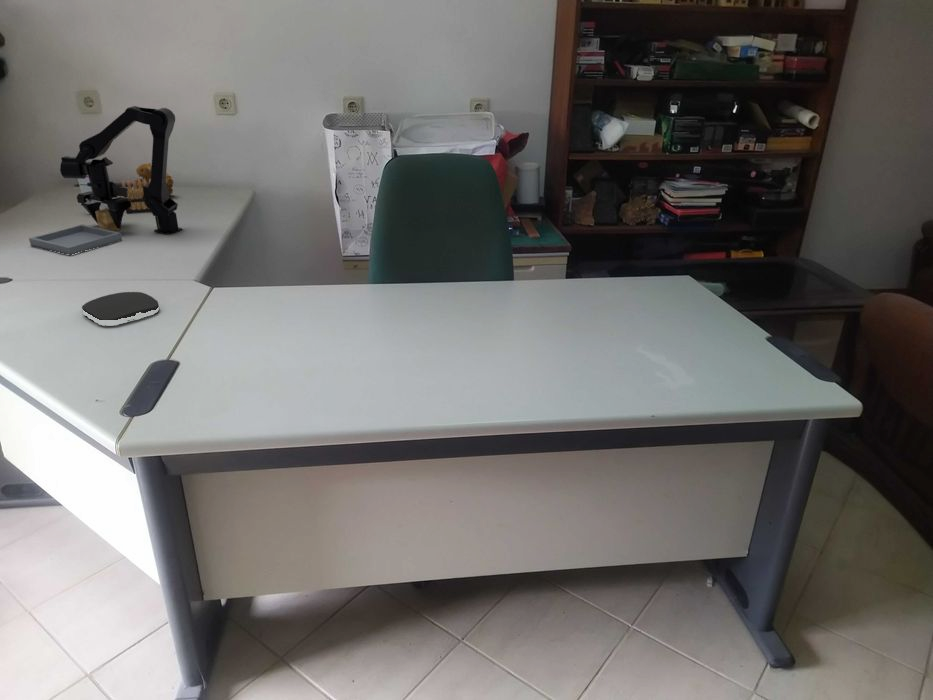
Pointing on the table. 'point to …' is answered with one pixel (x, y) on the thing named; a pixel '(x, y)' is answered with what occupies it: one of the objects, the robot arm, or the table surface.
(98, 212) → the block
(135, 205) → the ammunition clip
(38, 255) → the table surface
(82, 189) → the syrup box
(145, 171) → the stuffed squirrel
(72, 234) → the tray
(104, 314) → the media streaming box
